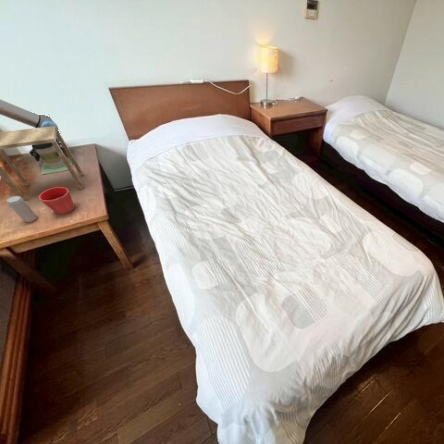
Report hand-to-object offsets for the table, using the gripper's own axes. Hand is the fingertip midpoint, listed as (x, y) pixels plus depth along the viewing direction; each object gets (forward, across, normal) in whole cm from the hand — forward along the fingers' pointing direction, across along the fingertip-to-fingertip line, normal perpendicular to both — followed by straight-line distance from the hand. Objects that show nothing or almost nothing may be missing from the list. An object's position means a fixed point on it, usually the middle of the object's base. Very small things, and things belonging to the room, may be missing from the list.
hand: (48, 157), depth 139 cm
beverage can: (+44, +8, -9) cm, 46 cm away
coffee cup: (-4, 0, -8) cm, 9 cm away
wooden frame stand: (+19, 0, -8) cm, 21 cm away
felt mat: (-4, 0, -8) cm, 9 cm away
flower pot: (+42, -5, -9) cm, 43 cm away
